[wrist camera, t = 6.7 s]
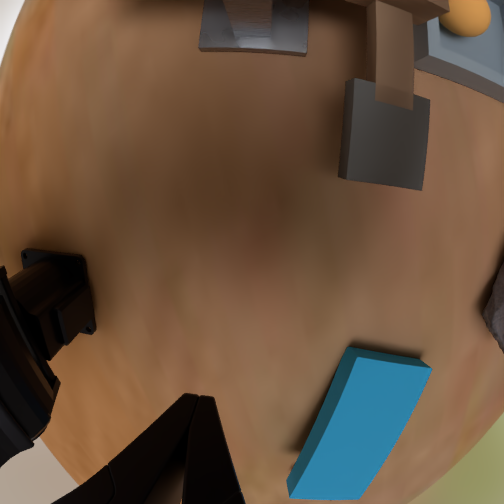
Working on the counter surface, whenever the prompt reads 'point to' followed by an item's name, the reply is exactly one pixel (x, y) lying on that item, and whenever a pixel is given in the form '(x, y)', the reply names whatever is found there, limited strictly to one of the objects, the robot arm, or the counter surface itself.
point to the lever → (388, 99)
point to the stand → (255, 26)
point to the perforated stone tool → (496, 310)
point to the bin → (464, 53)
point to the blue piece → (357, 424)
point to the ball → (467, 17)
